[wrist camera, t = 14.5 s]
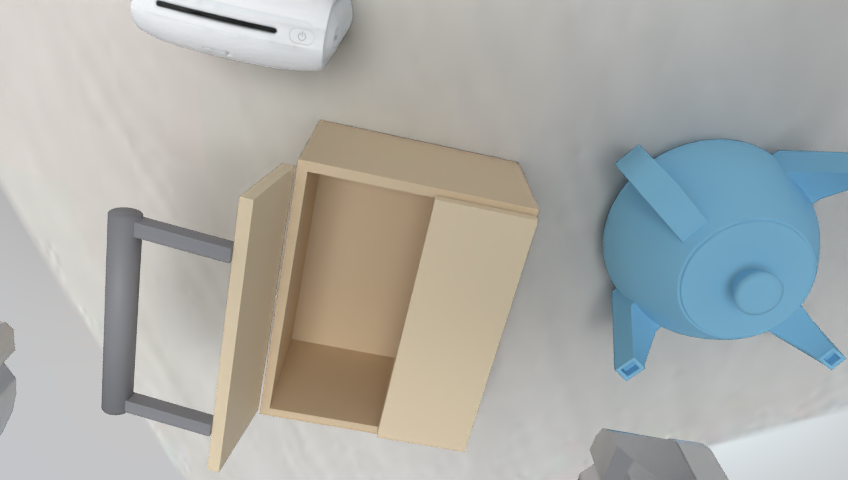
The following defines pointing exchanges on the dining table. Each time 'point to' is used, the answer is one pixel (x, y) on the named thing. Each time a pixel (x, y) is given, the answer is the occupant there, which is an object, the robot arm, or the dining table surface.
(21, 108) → the dining table surface
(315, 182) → the carton
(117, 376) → the far flap
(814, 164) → the teapot
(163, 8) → the photo printer
